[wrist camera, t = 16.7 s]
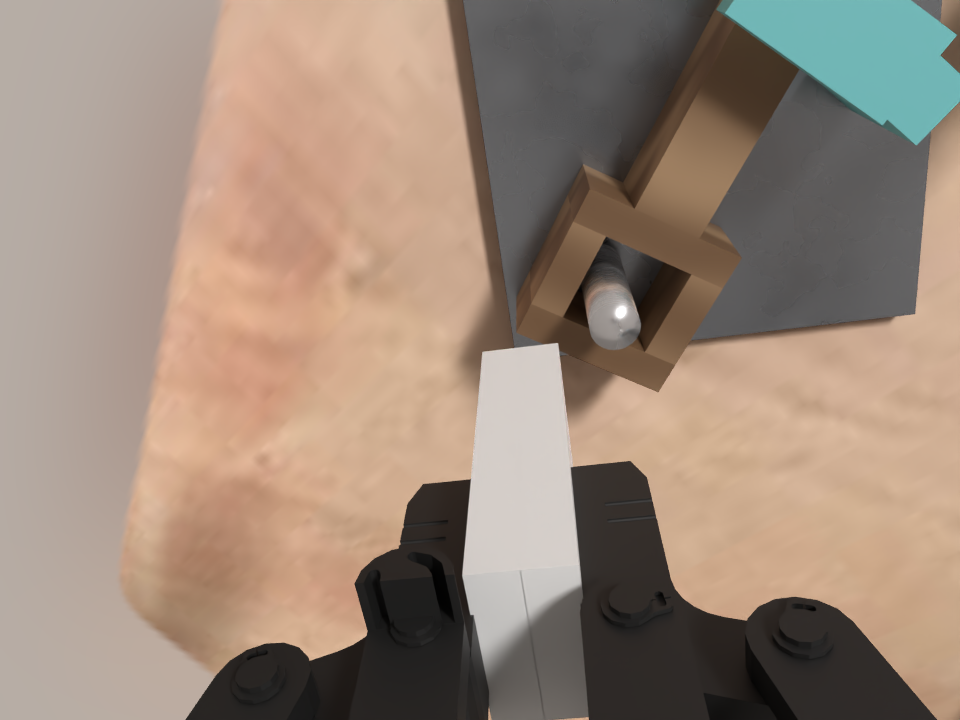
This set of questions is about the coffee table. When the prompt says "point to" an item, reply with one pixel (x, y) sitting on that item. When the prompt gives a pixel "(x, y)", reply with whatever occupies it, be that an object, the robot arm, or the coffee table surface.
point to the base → (747, 204)
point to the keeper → (863, 55)
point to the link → (661, 209)
